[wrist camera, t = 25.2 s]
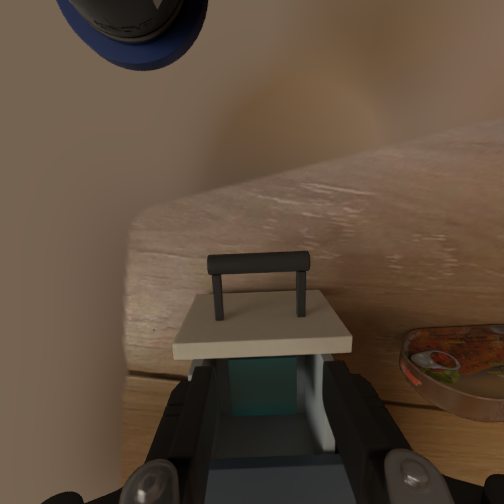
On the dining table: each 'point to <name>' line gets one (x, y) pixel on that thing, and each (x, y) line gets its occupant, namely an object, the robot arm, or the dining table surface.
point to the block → (263, 385)
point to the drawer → (265, 353)
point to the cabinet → (279, 480)
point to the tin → (458, 369)
